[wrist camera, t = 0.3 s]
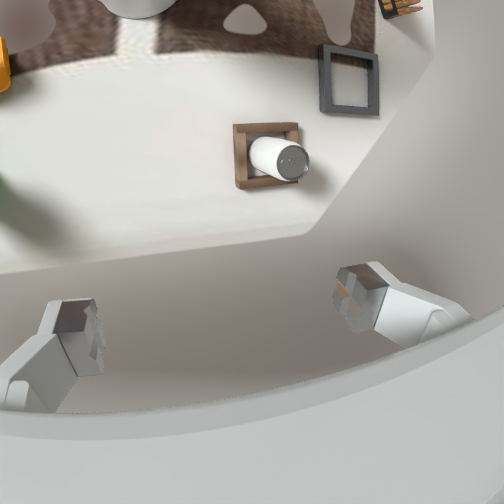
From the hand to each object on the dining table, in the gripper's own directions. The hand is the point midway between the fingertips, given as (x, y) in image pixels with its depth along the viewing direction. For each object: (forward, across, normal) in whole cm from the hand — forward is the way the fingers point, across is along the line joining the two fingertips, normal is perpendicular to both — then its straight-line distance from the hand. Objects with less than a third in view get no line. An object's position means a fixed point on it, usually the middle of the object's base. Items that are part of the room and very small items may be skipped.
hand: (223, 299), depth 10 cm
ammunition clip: (+52, -45, -34) cm, 77 cm away
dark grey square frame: (+50, -35, -10) cm, 62 cm away
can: (+48, -17, +5) cm, 51 cm away
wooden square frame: (+47, -17, +5) cm, 51 cm away
